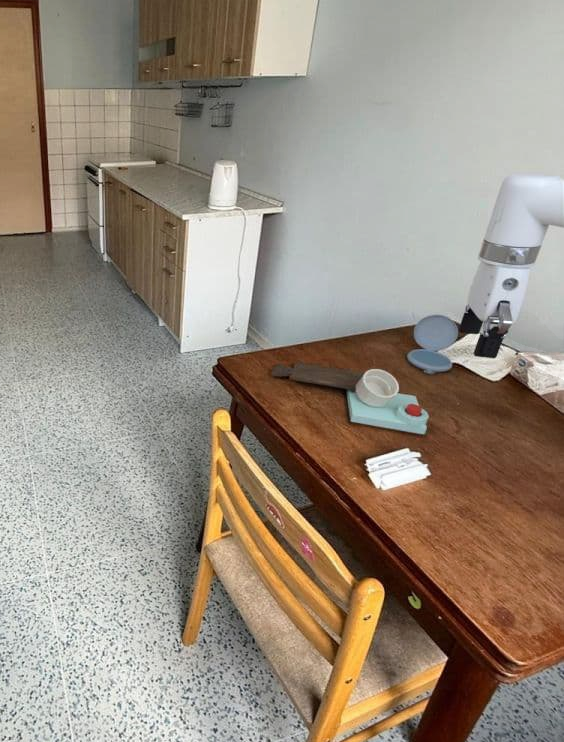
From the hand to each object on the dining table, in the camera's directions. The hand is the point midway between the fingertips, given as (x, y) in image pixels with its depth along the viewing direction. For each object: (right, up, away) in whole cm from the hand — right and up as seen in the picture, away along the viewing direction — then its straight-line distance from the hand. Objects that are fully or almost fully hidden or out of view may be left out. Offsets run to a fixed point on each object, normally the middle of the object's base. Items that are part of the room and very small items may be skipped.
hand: (475, 344), depth 86 cm
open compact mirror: (+16, -5, +37) cm, 41 cm away
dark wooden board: (-14, -9, +29) cm, 33 cm away
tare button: (-3, -15, +13) cm, 20 cm away
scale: (-6, -15, +19) cm, 25 cm away
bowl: (-8, -11, +20) cm, 24 cm away
